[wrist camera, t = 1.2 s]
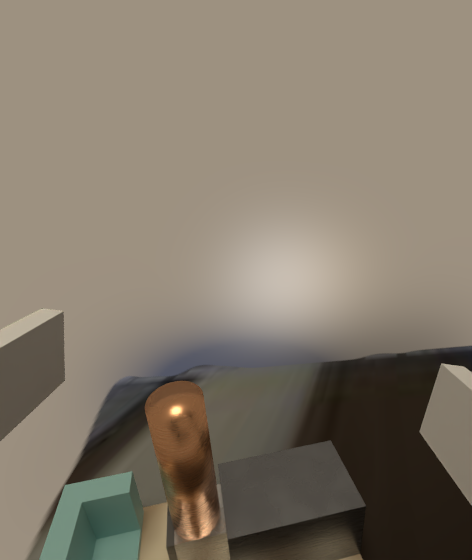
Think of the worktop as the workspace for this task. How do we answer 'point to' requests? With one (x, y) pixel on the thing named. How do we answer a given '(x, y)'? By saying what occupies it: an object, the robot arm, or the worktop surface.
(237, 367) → the worktop surface
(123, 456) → the worktop surface
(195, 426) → the slip bolt
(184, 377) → the worktop surface
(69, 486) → the socket
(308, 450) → the sleeve
